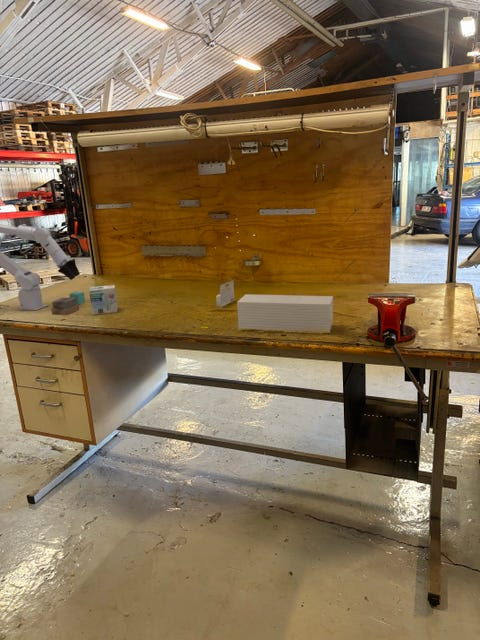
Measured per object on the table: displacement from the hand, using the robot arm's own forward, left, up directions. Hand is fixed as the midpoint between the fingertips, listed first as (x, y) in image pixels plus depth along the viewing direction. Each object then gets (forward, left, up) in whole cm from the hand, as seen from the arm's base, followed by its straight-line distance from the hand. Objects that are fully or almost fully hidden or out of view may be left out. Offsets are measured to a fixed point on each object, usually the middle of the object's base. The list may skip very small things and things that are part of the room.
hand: (75, 277), depth 204 cm
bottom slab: (+1, -12, -13) cm, 18 cm away
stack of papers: (+100, -18, -13) cm, 103 cm away
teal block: (-3, +3, -13) cm, 14 cm away
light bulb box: (+19, -8, -13) cm, 25 cm away
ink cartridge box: (+68, +10, -13) cm, 70 cm away
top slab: (+1, -11, -10) cm, 16 cm away
